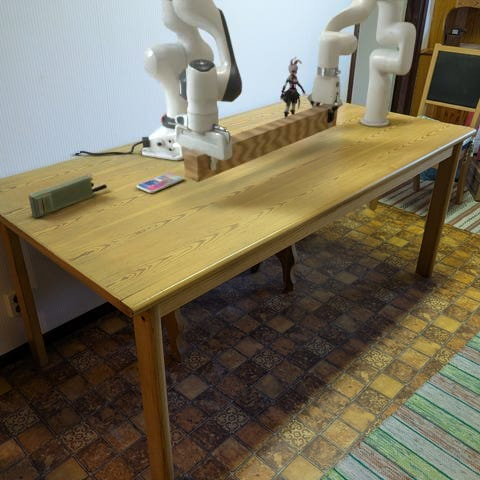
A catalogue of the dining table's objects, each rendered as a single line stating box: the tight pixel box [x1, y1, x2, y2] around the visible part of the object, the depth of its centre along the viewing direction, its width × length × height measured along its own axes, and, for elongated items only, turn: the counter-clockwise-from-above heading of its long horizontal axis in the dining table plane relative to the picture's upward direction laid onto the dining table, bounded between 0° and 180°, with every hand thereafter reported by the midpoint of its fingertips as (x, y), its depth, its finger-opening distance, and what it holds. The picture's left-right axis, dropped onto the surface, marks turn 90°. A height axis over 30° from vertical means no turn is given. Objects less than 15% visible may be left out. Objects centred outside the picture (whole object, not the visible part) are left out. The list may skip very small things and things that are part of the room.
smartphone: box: [136, 172, 184, 194], centre depth 164 cm, size 7×1×15 cm
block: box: [183, 103, 339, 183], centre depth 172 cm, size 75×6×8 cm, turn 139°
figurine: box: [279, 56, 306, 117], centre depth 211 cm, size 15×6×30 cm, turn 132°
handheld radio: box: [28, 173, 108, 219], centre depth 150 cm, size 7×3×25 cm
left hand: (203, 166), depth 151 cm, fingers closed on block, 5 cm apart
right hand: (323, 120), depth 194 cm, fingers closed on block, 5 cm apart
